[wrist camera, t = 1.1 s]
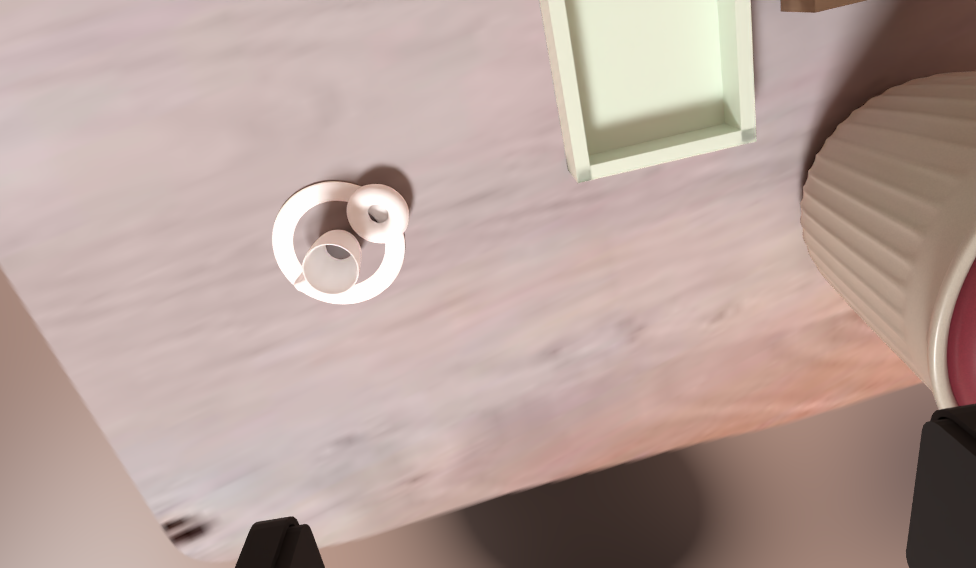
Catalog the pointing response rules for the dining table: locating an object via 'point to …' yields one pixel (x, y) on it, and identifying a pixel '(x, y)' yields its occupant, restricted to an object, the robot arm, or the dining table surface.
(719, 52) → the tray
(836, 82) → the dining table surface
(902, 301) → the canister
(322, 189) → the teacup and saucer
